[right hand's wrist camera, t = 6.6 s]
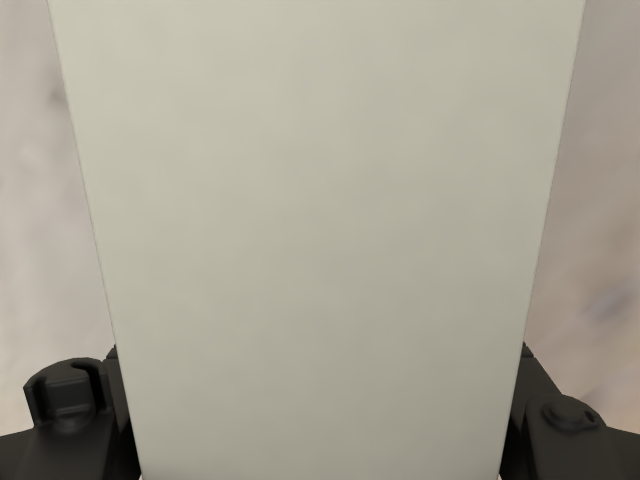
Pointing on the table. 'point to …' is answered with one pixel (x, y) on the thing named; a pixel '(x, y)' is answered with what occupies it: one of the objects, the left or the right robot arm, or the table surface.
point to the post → (318, 223)
